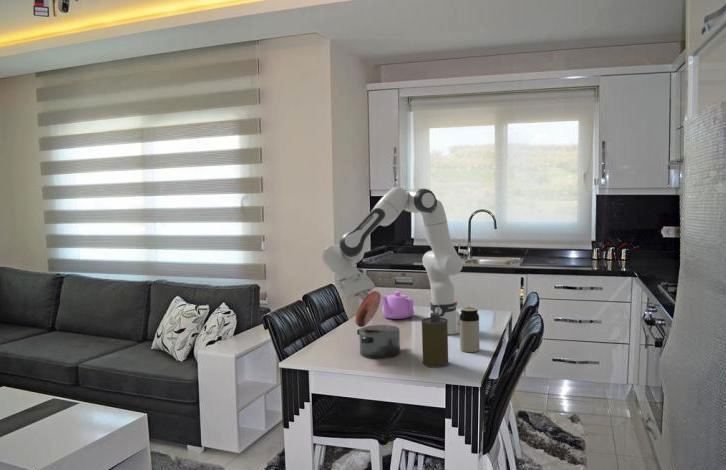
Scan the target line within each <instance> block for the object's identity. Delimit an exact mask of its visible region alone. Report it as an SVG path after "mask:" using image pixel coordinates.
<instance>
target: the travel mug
mask: <svg viewBox="0 0 726 470" xmlns="http://www.w3.org/2000/svg"><path fill="white" fill-rule="evenodd" d="M459 310H460V313H459V314H460V334H459V341H460V342H459V346H460V347H459V349H460V351H462V352H465V353H477V352H479V351H480V315H479V313H478V310H479V308H478V307H476V306H470V305H469V306H467V305H466V306H462V307H460V309H459Z"/></svg>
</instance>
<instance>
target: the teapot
mask: <svg viewBox="0 0 726 470" xmlns="http://www.w3.org/2000/svg"><path fill="white" fill-rule="evenodd" d="M381 301H382V306H381V313H382V314H383V316H384V317H385V318H387V319H394V320H403V319H408V318H411V316H414V315H415V313H416V312H415V310H414V299H412V298H411V297H408V296H407V295H406V294H402V293H401V291H394V292H393V294H384V296H381Z"/></svg>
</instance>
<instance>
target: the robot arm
mask: <svg viewBox="0 0 726 470" xmlns="http://www.w3.org/2000/svg"><path fill="white" fill-rule="evenodd" d="M436 197H437V196H436V195H435V194H434V192H433V191H432V190H431V189H428V188H412V189H407V190H405V189H404V188H403V187H400V186H394V187H392V188H391V189H389V191H387V192H386V193H385V194H383V196H382V197H380V199H379V200H378V201H377V203H376V204H375V205H374V207H373V208H372V209H371V211H370V212H369V213H368V214H367V215H366V216H365V217H364V218H363V219H362V220H361V221H360V222H359V224H358V225H357V226H356V227H355V228H353V229H352V230H350V231H348V232H346V233H345V234H343V235H342V237H340V240H339V244H330V245H328V246H327V247H326V248H325V249H324V250H323V253H322V254H321V255H322V256H321V258H322V261H323V263H324V264H325V266H326V267H327V268H328V270H329V271H330V272H331V273H333V274H334V276H335V277H336V279H337V285H338V286H339V289H340V291H341V293H342V294H343V296H344V297H345V298H346V299H348V300H349V299H350V300H351V299H353V298H357V297H358V298H360V299H361V300H362V301H363V300H364V299H365V298H366V297H367V296H368V295H369V294H370V293H371V292H373V291H374V288H375V287H376V285H375V283H374V282H373V281H372V279H371V278H370V277H369V276H368V275H367V274H365V270H364V269H362V268H359V267H358V268H357V267H354V265H356V264H357V263H359V262H361V260H362V259H364V256H365V249H364V247H365V246H364V244H365V241H366V239H367V238H368V237H369V236H370V235H371V234H372V232H374V230H375V229H376V228H377V227H378V226H382V227H388V226H390V225H391V224H392V223H393V222H394V221H395V220H396V219H397V218H398V217H399V216H400V214H401V213H402V212H405V213H413V214H414V213H416V214H417V213H420V214H421V216H422V221H423V228H424V233H425V239H426V240H425V241H426V242H427V243H428V244H429V247H430V248H431V250H428V251H426V252H425V253H424V255H423V256H422V265H423V268H425V270H426V273H427V277H428V281H429V285H430V299H431V301H430V305H429V306H430V311H429V312H428V314H427V318H429V317H431V316H430V315H431V313H439V315H440V316H439V317H441V318H446V319H448V322H447V326H448V336H449V335H456V334H457V335H458V334H459V335H460V314H461V313H460V312H459V311H458V310H457V306H458V301H457V300H455V285H454V283H452V280H451V278H450V276H454V275H455V276H456V275H457V274H460V273H461V271H462V270H463V266H464V263H463V262H464V261H463V259H462V257H461V256H460V255H459V254H458V253H457V250H456V249H455V246H454V244H453V242H452V238H451V235H450V230H449V225H448V219H447V215H446V212H445V208H444V205H443V203H442V202H441V200H438V199H437V198H436Z"/></svg>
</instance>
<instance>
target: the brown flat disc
mask: <svg viewBox="0 0 726 470" xmlns="http://www.w3.org/2000/svg"><path fill="white" fill-rule="evenodd" d="M381 301H382V297H381V293H380V292H378V291H377V290H372V291H371V292H369V295H368V296H367V297H366V298H365V299H364V300H363V299H362V302H361V303H360V305H359V308H358V310H357V312H356V314H355V321H354V322H355V325H356V326H358V327H359V328H363V327H366V326H367V325H368V323H370V322H371V320H372V319H373V317H375V316H376V315H375V314H376V313H377V310H378V309H379V306H380V303H381Z"/></svg>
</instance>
